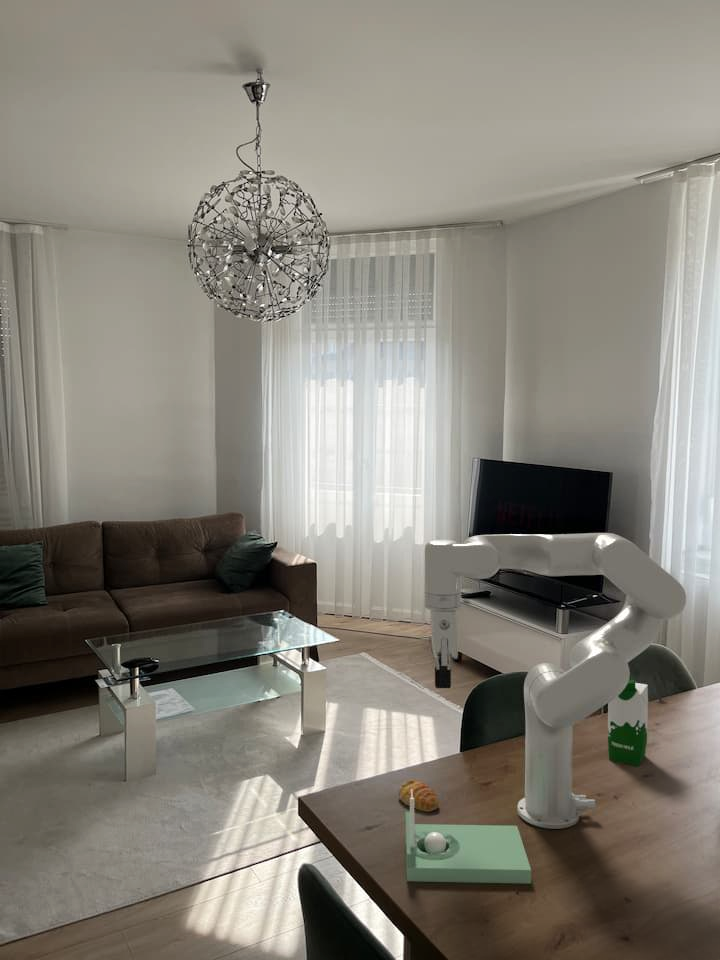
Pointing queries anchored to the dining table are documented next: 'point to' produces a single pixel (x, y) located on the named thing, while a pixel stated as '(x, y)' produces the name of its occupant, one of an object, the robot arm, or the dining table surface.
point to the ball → (435, 843)
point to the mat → (468, 854)
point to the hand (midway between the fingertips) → (442, 686)
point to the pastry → (418, 795)
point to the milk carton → (628, 724)
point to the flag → (412, 820)
